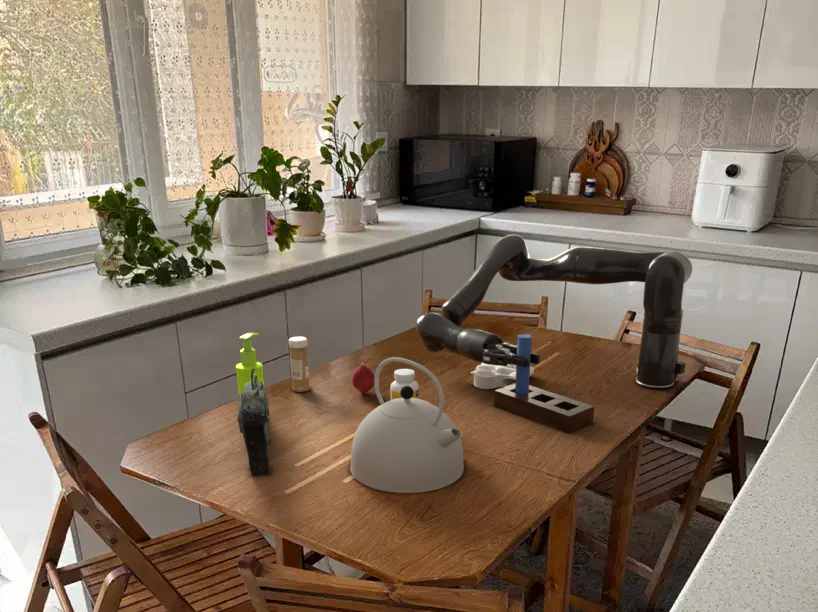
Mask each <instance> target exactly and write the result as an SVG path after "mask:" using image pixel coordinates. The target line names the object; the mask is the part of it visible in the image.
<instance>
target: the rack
mask: <svg viewBox="0 0 818 612" xmlns="http://www.w3.org/2000/svg"><path fill="white" fill-rule="evenodd" d="M515 385H516V383H515V384H512V385H509V386H506V387H499V388H497V389H494V391H493V393H494V395H493V398H494V399H493V407H496V408H499V409H501V410H504V411H505V412H506V411H507V412H509V413H512V414H515V415H518V416H521V417H523V418H525V419H528V420H532V421H534V422H537V423H539V424H542V425H544V426H548V427H551V428H553V429H556V430H559V431H561V432H565V433H566V434H569V433H570V434H571V433H572V432H574V431H576V430H580V429H582V428H584V427H586V426H588V425H591V424H593V423H594V414H595V406H594V405H592V404H589V403H585V402H582V401H579V400H576V399H573V398H570V397H568V396H564V395H560V394H557V393H554V392H552V391H548V390H547V389H543V388H539V387H536V386H533V385H531V384H529V393H528V394H525V395H520V394H517V393H515Z"/></svg>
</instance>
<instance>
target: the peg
mask: <svg viewBox="0 0 818 612" xmlns="http://www.w3.org/2000/svg"><path fill="white" fill-rule="evenodd" d="M532 340H533V336H532V335H531V334H529V333H521V334H518V335H517V342H518V343H517V342H516V346H517V355H519V356H523V357H526V358H528V359H529V367H527V368H524V367H521V366H518V365H516V385H515V393H517V394H520V395H525V394H528V393H529V385H530V379H531V378H530V377H531V376H530V366H531V363H530V360H531V353H532Z"/></svg>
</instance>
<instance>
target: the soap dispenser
mask: <svg viewBox="0 0 818 612" xmlns="http://www.w3.org/2000/svg"><path fill="white" fill-rule="evenodd" d="M260 335H261V333H259V332H253V331H251V332H247V333H245V334H243V335H241V336H239V341H242V345H243V346H242V347H243V348H242V349H240V351H239V355H240V362H239V363H237V364H236V365H235V371H236V382H237V390H238V391H237V392H238V393H237V394H238V396H239V395H240V394H242V392H243V391H244V388H245V385H246V383H247V382H251V369H252V368H255V371H254V372H253V382H254V375H255V374H256V375H257V380H256V382H262V383H263V384H264V385H263V386H264V387H265V380H264V379H265V378H264V367H263V363H262V362H259V361H258V360H257V351H256V348H254V347H252V339H253V338H255V337H259V336H260Z"/></svg>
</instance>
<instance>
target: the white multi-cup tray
mask: <svg viewBox="0 0 818 612" xmlns="http://www.w3.org/2000/svg"><path fill="white" fill-rule="evenodd" d="M535 372H536V371H535V368H534V367H533V366H532V365H530V377H532V376H533V375H534V374H535ZM470 374H472V375H473V386H474V387H475V388H477V389H481V390H495V389H498V388H503V387H506V386H509V385H512V384H515V383H516V365H509V364H507V366H499V365H492V364H484V363H481V364H479V365H476V368H475V370H472V371H470Z"/></svg>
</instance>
